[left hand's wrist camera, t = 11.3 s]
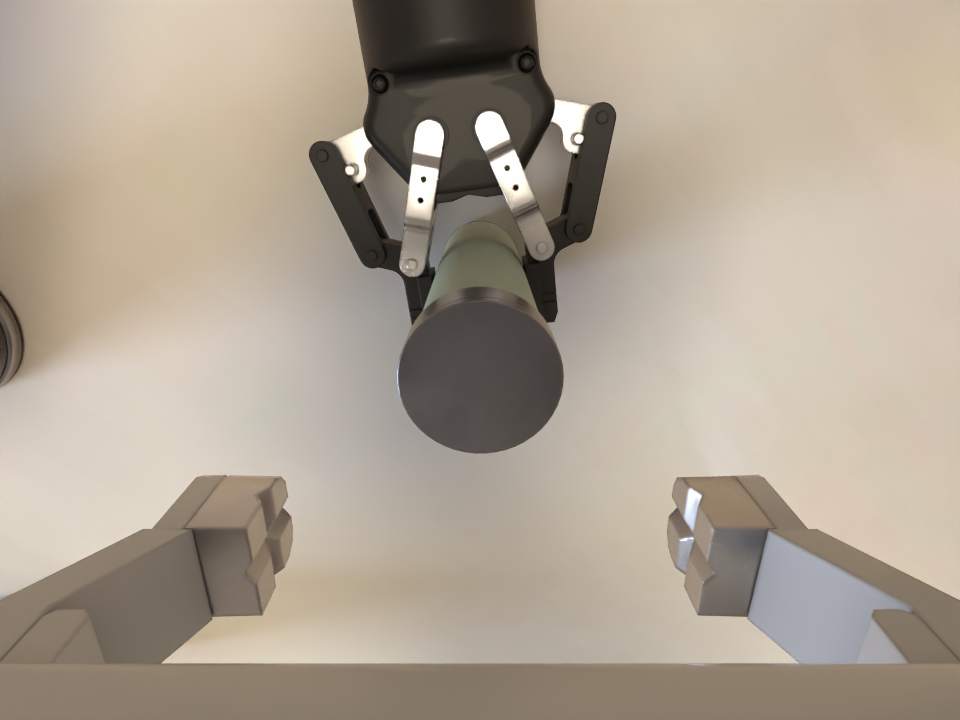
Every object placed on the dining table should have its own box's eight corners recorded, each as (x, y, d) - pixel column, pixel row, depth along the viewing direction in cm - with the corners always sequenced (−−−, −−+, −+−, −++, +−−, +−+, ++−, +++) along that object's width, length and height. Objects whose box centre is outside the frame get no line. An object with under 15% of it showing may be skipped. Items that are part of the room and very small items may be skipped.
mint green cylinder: (530, 241, 34) (583, 342, 16) (496, 306, 35) (512, 462, 18) (462, 207, 33) (443, 276, 16) (431, 275, 34) (382, 406, 17)
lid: (584, 327, 17) (594, 344, 16) (512, 449, 19) (516, 477, 17) (443, 258, 17) (438, 271, 15) (381, 392, 18) (371, 415, 17)
